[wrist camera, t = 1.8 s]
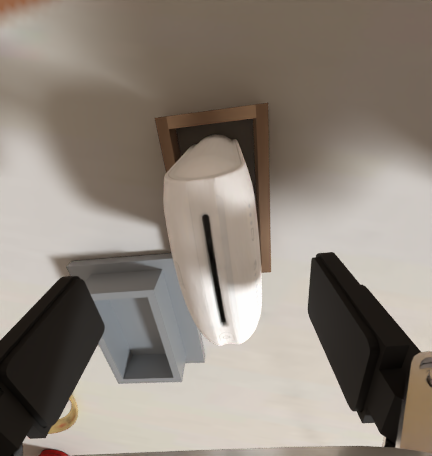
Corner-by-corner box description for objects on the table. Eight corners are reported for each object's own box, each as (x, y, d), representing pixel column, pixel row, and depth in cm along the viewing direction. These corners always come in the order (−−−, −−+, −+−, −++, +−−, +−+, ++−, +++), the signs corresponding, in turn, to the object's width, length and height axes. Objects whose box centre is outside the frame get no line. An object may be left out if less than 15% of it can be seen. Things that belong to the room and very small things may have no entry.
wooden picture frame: (262, 104, 17) (268, 102, 15) (266, 256, 23) (271, 272, 21) (163, 117, 18) (154, 118, 16) (192, 262, 24) (188, 277, 22)
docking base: (183, 252, 23) (175, 277, 20) (205, 355, 30) (202, 387, 27) (72, 261, 24) (45, 286, 21) (118, 358, 32) (104, 390, 28)
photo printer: (250, 243, 23) (272, 367, 12) (207, 247, 23) (189, 371, 12) (240, 130, 18) (263, 158, 7) (187, 137, 19) (129, 175, 8)
